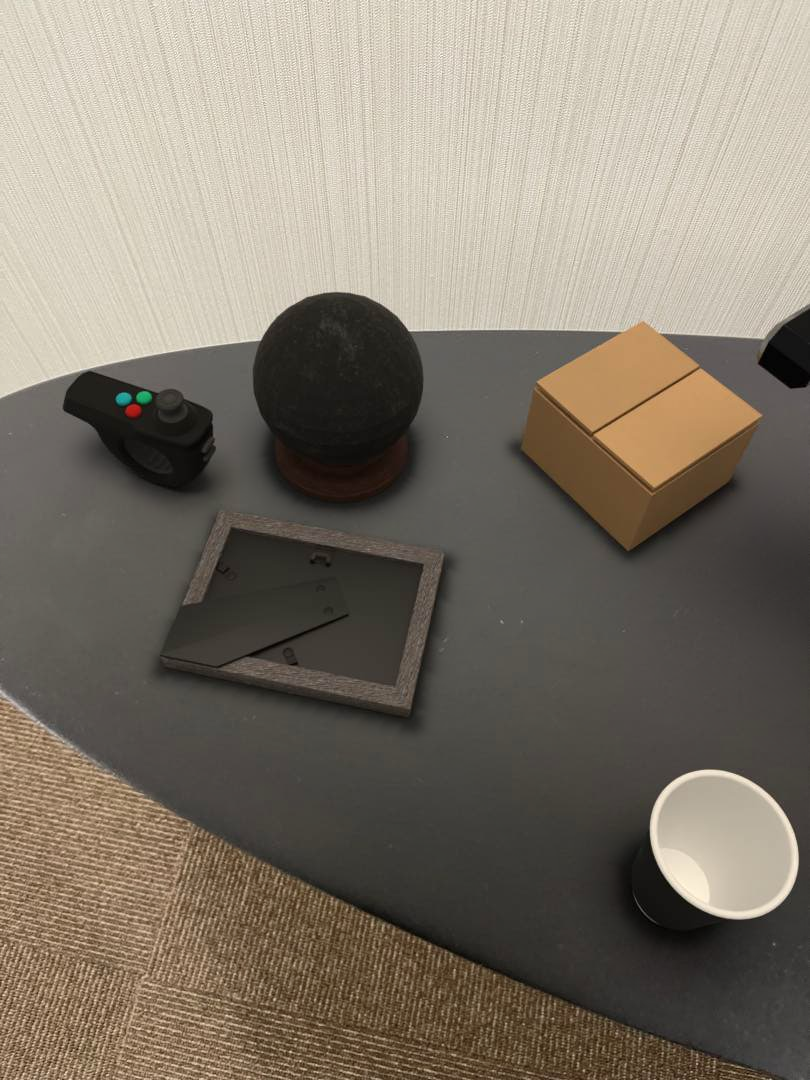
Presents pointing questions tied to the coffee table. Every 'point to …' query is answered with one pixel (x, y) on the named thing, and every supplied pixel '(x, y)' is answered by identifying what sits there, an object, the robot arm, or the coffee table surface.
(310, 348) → the black ball on stand
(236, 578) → the picture frame
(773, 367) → the robot arm
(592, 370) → the carton
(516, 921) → the coffee table surface
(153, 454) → the controller
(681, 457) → the flap
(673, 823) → the dixie cup
